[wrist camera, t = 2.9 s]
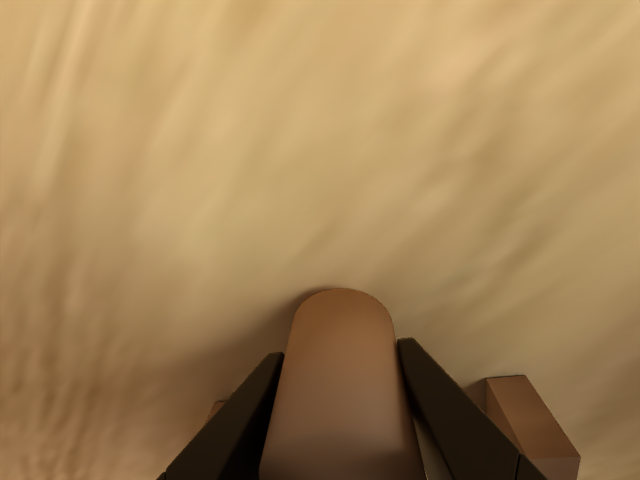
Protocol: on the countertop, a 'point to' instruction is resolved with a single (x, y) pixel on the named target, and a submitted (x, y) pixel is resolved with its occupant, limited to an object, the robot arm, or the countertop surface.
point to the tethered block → (342, 397)
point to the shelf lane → (524, 426)
